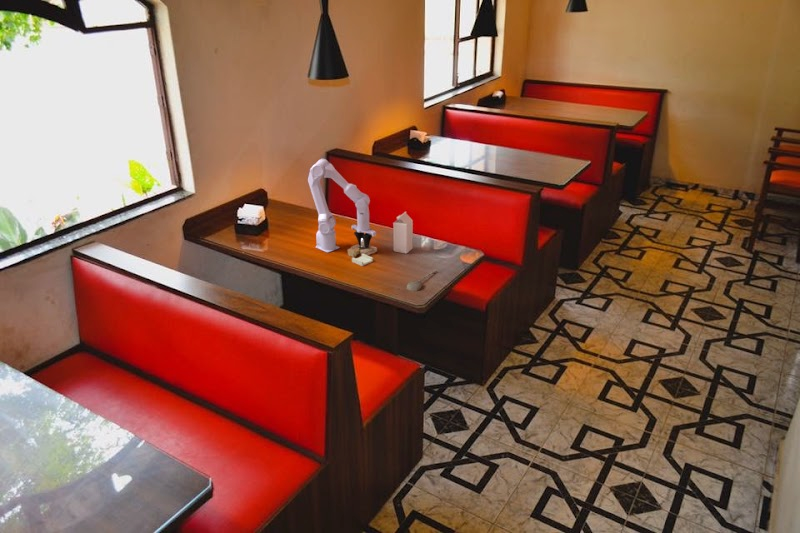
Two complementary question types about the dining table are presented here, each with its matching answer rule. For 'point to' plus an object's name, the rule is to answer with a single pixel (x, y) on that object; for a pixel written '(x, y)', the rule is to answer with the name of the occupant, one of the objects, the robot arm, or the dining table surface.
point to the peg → (362, 244)
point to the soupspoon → (417, 283)
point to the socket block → (367, 251)
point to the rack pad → (362, 260)
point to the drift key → (354, 252)
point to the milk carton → (403, 234)
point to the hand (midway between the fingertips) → (363, 246)
